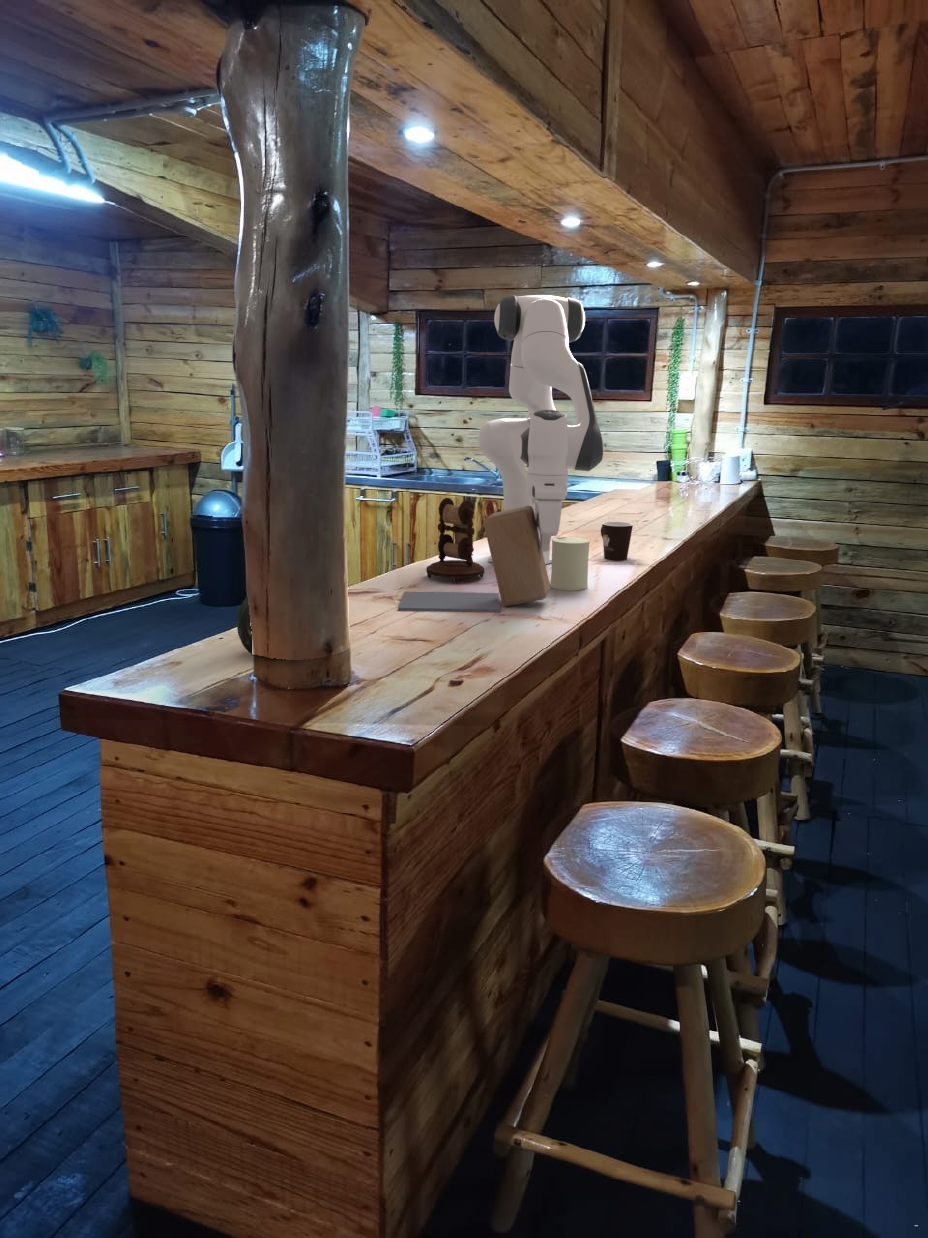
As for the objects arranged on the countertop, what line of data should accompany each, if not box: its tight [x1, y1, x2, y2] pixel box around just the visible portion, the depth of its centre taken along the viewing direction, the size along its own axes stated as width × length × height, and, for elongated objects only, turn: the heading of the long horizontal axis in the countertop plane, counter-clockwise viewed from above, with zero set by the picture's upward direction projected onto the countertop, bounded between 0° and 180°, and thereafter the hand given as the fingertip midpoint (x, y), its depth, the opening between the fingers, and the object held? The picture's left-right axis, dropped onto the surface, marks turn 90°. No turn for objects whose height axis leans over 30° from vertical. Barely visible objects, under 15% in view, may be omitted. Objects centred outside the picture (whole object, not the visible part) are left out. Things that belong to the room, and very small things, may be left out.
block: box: [483, 506, 551, 607], centre depth 198 cm, size 10×10×20 cm
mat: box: [397, 590, 501, 613], centre depth 201 cm, size 16×22×1 cm
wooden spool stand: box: [425, 497, 485, 585], centre depth 224 cm, size 15×15×20 cm
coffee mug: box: [600, 521, 634, 562], centre depth 255 cm, size 12×9×10 cm
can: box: [549, 536, 591, 592], centre depth 217 cm, size 9×9×12 cm
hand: (544, 550), depth 197 cm, fingers closed
